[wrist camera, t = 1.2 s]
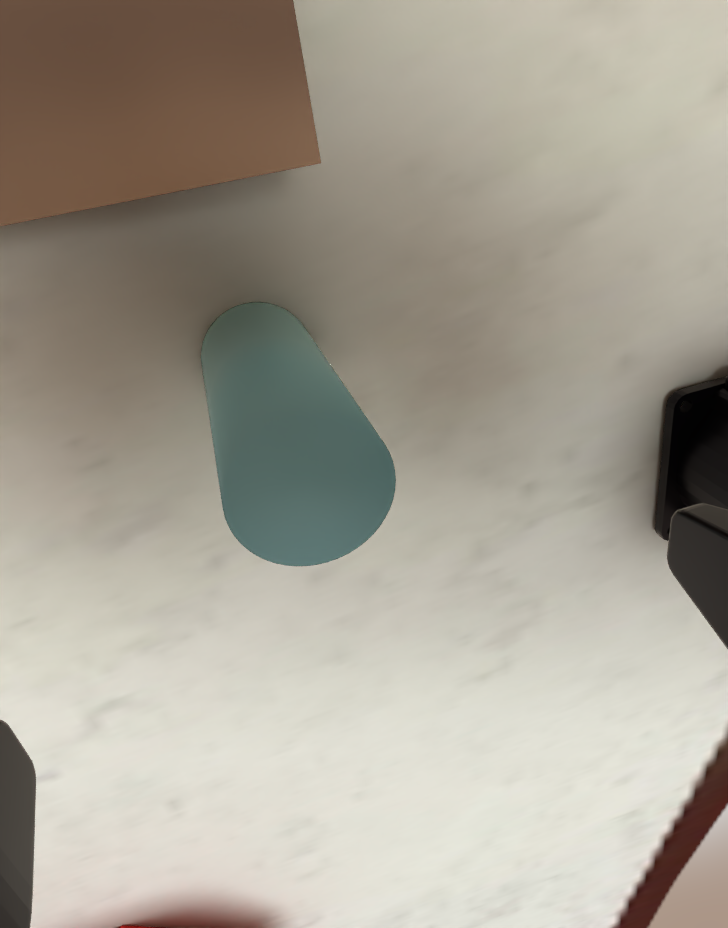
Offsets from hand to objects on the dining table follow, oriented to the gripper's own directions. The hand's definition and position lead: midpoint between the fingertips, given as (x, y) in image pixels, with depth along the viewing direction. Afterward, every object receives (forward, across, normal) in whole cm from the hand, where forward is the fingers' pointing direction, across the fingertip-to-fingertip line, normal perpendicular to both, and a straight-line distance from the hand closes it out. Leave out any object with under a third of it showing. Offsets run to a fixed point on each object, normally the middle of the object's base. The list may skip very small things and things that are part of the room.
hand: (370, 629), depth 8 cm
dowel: (+12, 0, 0) cm, 12 cm away
